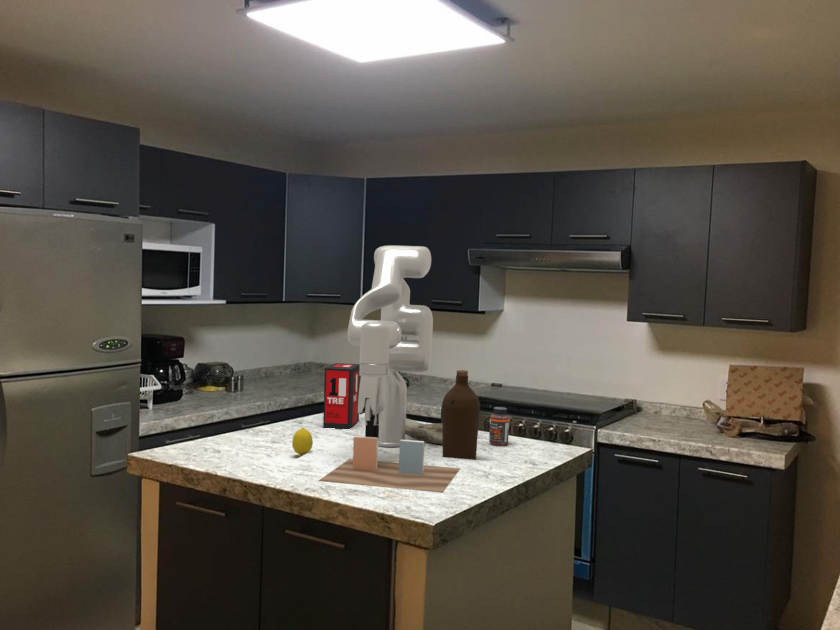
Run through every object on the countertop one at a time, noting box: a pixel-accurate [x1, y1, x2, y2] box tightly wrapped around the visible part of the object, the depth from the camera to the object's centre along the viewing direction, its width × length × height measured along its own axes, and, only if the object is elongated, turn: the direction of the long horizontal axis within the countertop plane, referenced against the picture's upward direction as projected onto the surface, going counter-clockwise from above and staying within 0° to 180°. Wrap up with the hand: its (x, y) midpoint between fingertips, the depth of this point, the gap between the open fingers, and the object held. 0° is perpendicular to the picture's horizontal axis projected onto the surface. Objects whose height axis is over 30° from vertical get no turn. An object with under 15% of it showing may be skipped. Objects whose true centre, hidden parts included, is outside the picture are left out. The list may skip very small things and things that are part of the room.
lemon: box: [291, 427, 314, 457], centre depth 212 cm, size 6×6×8 cm
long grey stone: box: [405, 417, 443, 445], centre depth 248 cm, size 35×5×10 cm
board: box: [318, 458, 461, 498], centre depth 190 cm, size 24×30×2 cm
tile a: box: [352, 435, 379, 470], centre depth 194 cm, size 2×6×8 cm, turn 77°
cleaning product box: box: [322, 362, 361, 430], centre depth 261 cm, size 16×9×20 cm, turn 174°
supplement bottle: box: [488, 406, 510, 447], centre depth 237 cm, size 6×6×11 cm
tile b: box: [398, 439, 425, 475], centre depth 192 cm, size 2×6×8 cm, turn 77°
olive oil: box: [441, 369, 481, 461], centre depth 214 cm, size 11×11×25 cm
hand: (371, 440), depth 200 cm, fingers closed
